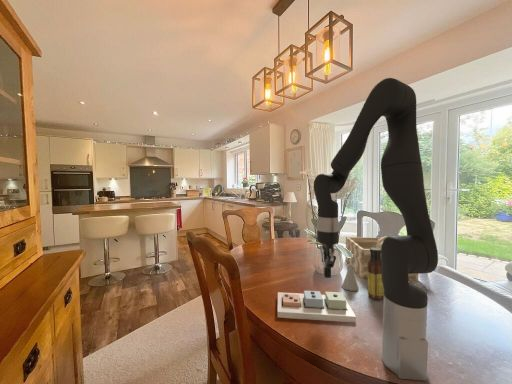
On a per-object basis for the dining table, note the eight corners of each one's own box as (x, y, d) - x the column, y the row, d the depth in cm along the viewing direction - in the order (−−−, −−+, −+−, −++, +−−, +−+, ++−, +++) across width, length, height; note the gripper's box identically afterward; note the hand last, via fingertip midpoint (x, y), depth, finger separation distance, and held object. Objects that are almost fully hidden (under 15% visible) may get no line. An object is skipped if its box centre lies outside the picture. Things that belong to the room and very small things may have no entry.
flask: (360, 292, 96) (361, 269, 96) (342, 290, 98) (343, 268, 97) (356, 285, 103) (357, 263, 103) (340, 283, 105) (340, 262, 104)
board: (355, 322, 75) (355, 316, 75) (277, 317, 78) (277, 311, 78) (343, 300, 89) (343, 295, 89) (277, 297, 92) (277, 292, 92)
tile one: (346, 309, 79) (346, 299, 79) (328, 308, 80) (328, 298, 80) (341, 300, 85) (341, 291, 85) (325, 299, 86) (325, 290, 86)
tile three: (299, 311, 81) (300, 302, 81) (283, 309, 82) (283, 301, 82) (298, 302, 87) (298, 293, 87) (282, 301, 88) (282, 293, 88)
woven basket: (418, 280, 109) (419, 251, 108) (361, 277, 111) (361, 249, 111) (391, 261, 135) (391, 238, 134) (345, 259, 138) (346, 236, 137)
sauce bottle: (384, 295, 94) (386, 248, 93) (384, 302, 88) (386, 252, 88) (367, 291, 97) (368, 245, 96) (366, 297, 92) (367, 249, 91)
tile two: (322, 307, 80) (323, 298, 80) (305, 306, 81) (305, 297, 81) (319, 299, 86) (319, 290, 86) (303, 298, 87) (303, 289, 87)
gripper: (344, 233, 75) (343, 285, 75) (333, 226, 88) (332, 270, 88) (321, 232, 75) (320, 284, 75) (313, 226, 88) (313, 270, 89)
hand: (327, 276), depth 82 cm, fingers closed
